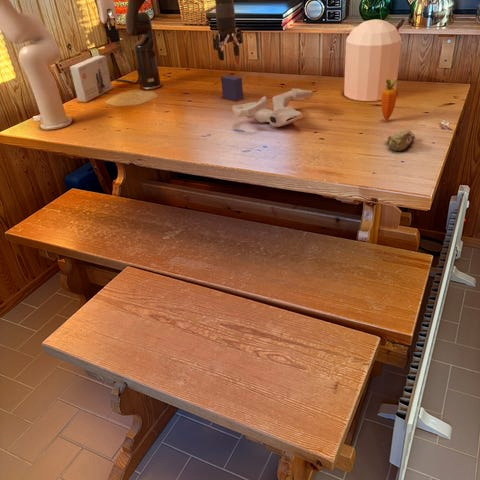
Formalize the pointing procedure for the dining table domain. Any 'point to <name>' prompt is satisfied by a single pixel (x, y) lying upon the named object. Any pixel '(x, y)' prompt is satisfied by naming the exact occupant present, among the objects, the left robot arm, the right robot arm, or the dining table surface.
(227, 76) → the block
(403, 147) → the rock
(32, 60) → the left robot arm
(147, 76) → the right robot arm
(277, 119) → the white branched piece
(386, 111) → the carrot
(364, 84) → the container
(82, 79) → the skincare box
